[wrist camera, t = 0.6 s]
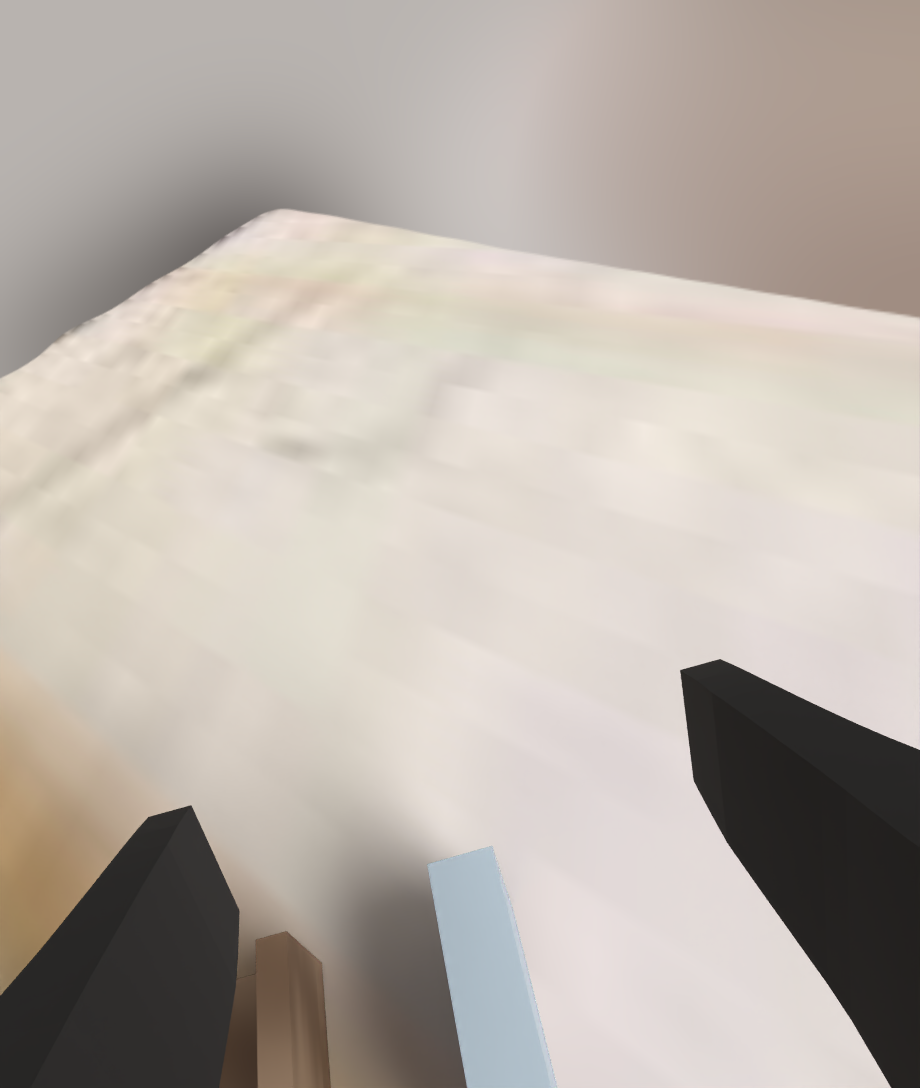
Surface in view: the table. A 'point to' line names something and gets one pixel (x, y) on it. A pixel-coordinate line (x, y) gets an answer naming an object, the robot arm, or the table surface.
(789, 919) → the robot arm
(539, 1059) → the door panel
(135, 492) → the table surface
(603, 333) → the table surface
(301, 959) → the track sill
